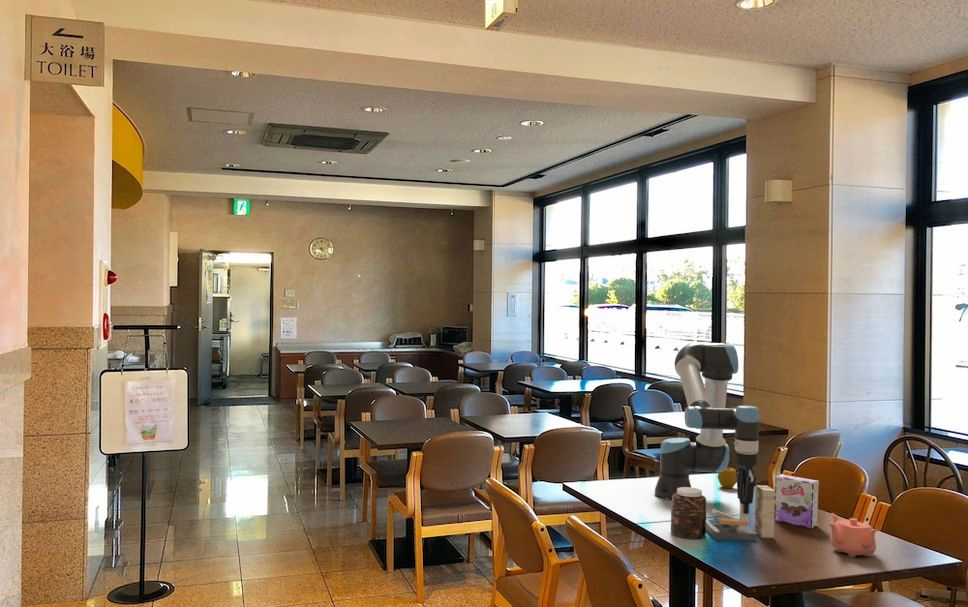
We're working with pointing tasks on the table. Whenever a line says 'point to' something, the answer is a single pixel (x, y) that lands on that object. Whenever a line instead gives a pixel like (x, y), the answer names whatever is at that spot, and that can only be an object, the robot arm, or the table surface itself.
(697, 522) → the jar
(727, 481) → the apple
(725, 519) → the orange wooden board
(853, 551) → the pink rounded pig figure
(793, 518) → the candy box
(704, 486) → the table surface
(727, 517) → the paddle far
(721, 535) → the grey square base
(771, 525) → the birch block
